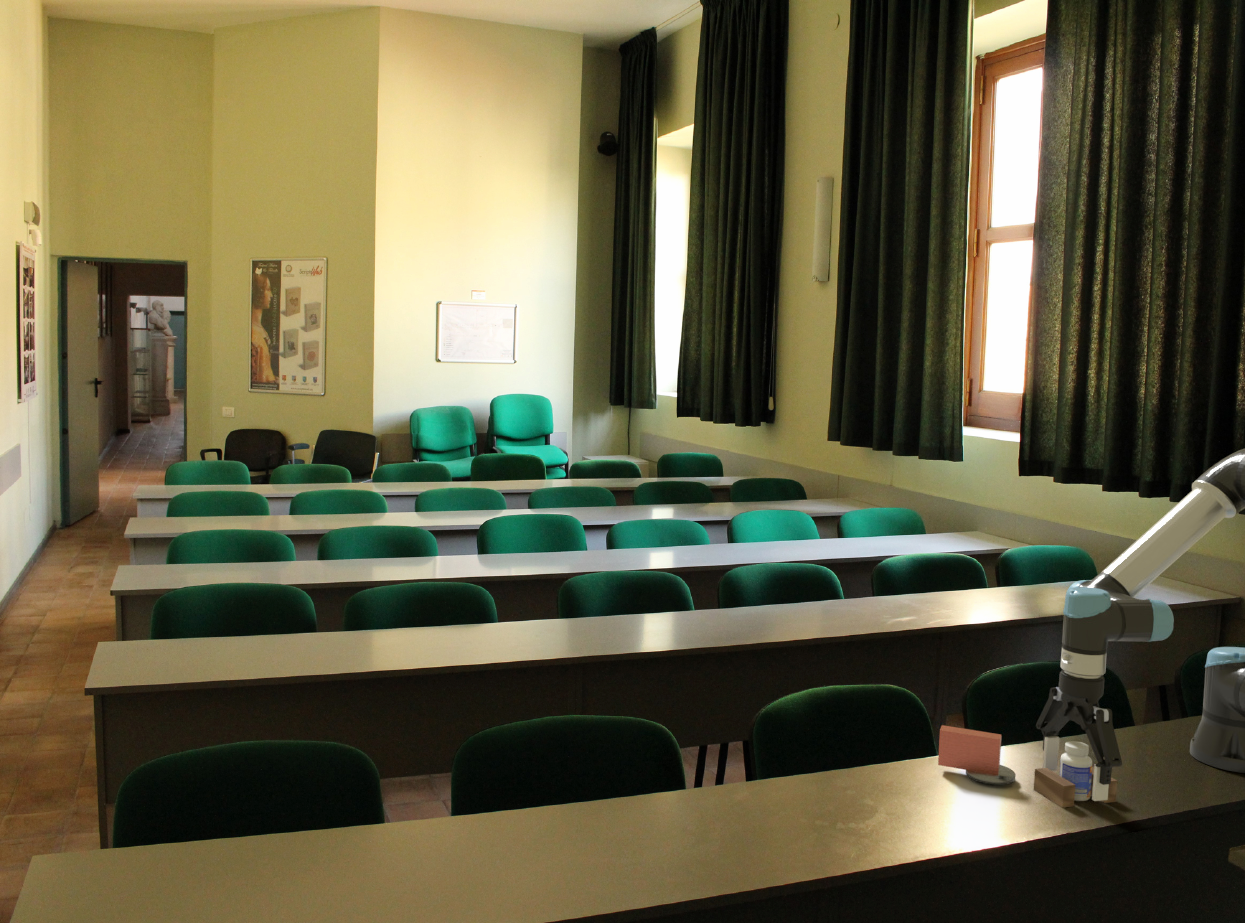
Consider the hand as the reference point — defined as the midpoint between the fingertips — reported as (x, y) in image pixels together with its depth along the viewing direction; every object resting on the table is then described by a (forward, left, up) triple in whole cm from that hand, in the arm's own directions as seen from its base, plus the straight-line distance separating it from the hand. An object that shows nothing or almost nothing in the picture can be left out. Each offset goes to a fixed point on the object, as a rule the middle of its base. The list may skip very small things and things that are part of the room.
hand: (1073, 784), depth 190 cm
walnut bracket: (0, 0, -2) cm, 2 cm away
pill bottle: (0, 0, -2) cm, 2 cm away
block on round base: (+13, -12, -1) cm, 17 cm away
